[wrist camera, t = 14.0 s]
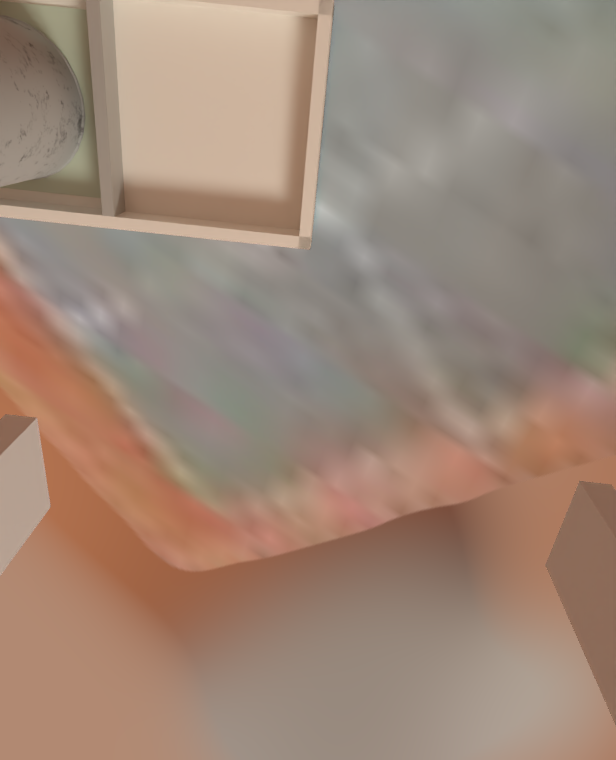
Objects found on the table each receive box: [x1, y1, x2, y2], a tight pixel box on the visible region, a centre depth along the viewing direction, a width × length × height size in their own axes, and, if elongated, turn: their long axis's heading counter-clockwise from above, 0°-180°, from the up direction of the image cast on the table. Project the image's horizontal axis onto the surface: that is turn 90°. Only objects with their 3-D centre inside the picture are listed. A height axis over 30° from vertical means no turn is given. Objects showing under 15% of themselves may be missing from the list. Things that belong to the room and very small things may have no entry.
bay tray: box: [0, 0, 334, 250], centre depth 35 cm, size 27×14×2 cm, turn 85°
